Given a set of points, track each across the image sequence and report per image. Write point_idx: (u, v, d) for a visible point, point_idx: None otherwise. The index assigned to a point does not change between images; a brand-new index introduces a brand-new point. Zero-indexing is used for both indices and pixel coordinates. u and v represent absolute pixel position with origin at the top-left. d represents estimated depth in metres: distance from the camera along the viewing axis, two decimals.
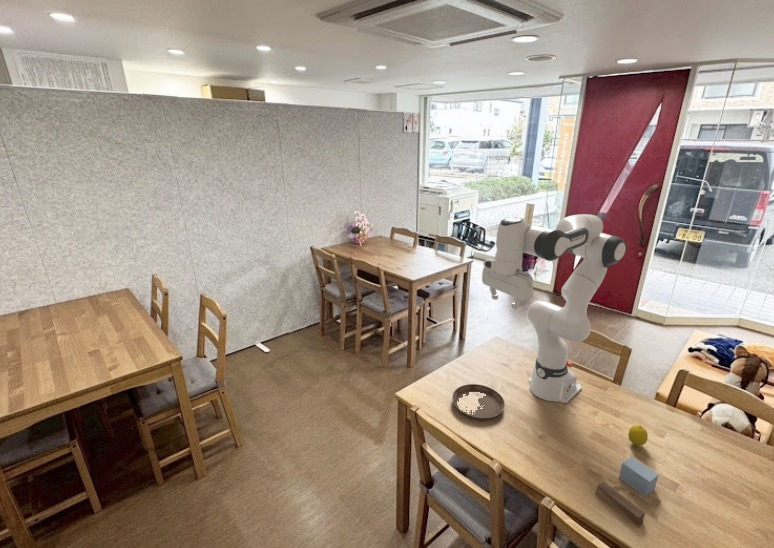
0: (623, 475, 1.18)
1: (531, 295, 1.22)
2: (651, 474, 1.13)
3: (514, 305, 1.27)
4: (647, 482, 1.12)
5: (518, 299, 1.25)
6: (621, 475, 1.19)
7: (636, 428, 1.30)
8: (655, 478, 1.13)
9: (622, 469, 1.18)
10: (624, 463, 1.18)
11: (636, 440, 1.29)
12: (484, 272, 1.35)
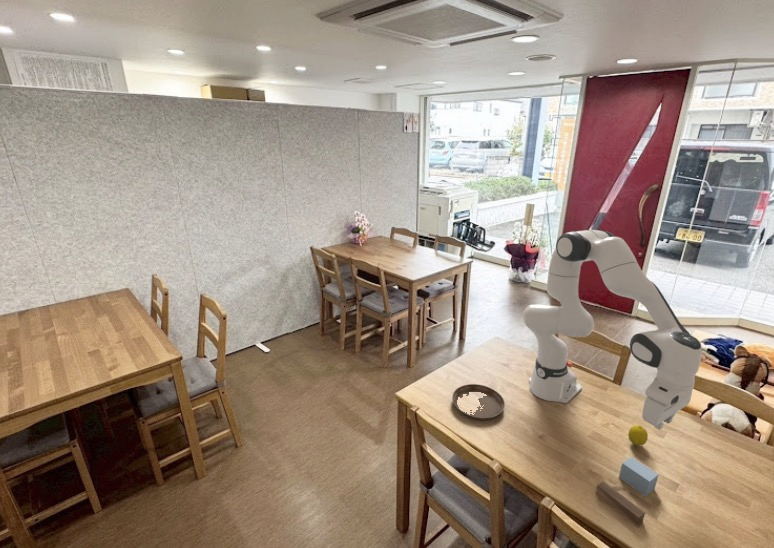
0: (623, 475, 1.18)
1: None
2: (651, 474, 1.13)
3: (671, 419, 1.15)
4: (647, 482, 1.12)
5: None
6: (621, 475, 1.19)
7: (636, 428, 1.30)
8: (655, 478, 1.13)
9: (622, 469, 1.18)
10: (624, 463, 1.18)
11: (636, 440, 1.29)
12: (662, 412, 1.06)
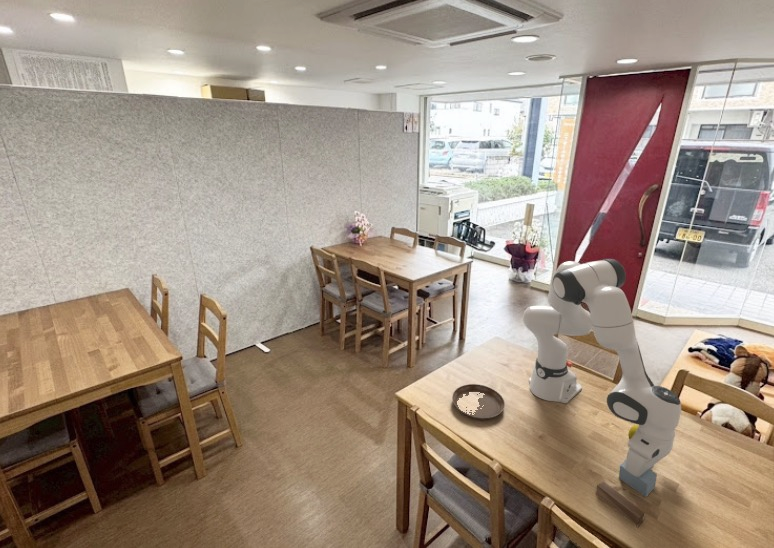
0: (622, 476, 1.18)
1: None
2: (649, 475, 1.12)
3: (651, 469, 1.18)
4: (645, 484, 1.11)
5: None
6: (621, 476, 1.18)
7: (636, 428, 1.30)
8: (653, 478, 1.12)
9: (621, 470, 1.18)
10: (622, 465, 1.17)
11: None
12: None
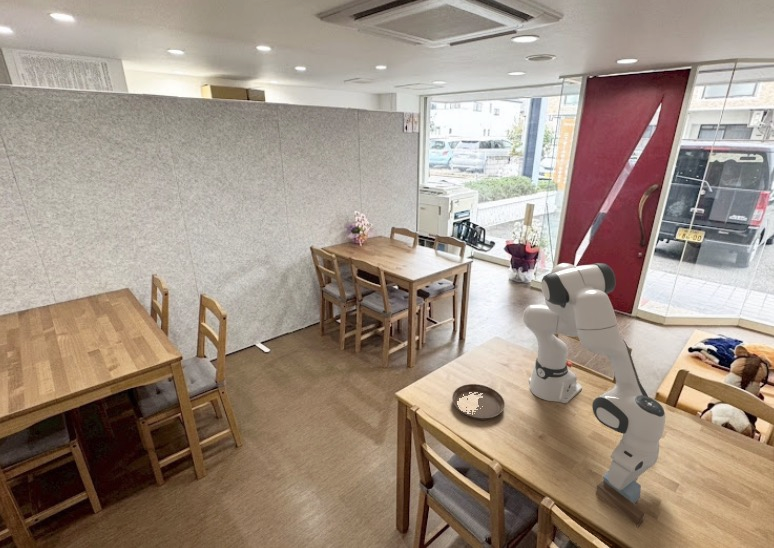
0: None
1: None
2: (633, 487, 1.09)
3: None
4: (628, 496, 1.07)
5: None
6: None
7: None
8: (637, 490, 1.08)
9: (604, 481, 1.14)
10: (605, 476, 1.13)
11: None
12: None
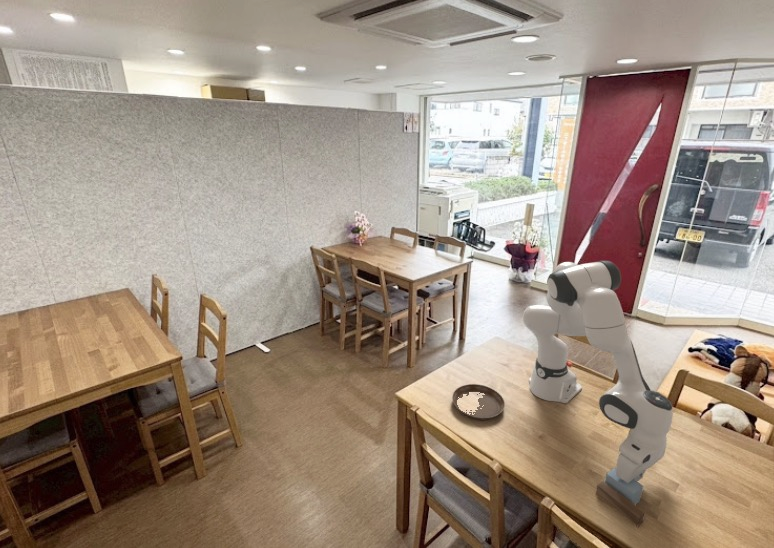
0: None
1: None
2: (636, 486, 1.10)
3: (642, 475, 1.16)
4: (631, 494, 1.08)
5: None
6: None
7: None
8: (640, 490, 1.09)
9: (606, 480, 1.14)
10: (608, 474, 1.14)
11: None
12: (634, 470, 1.08)
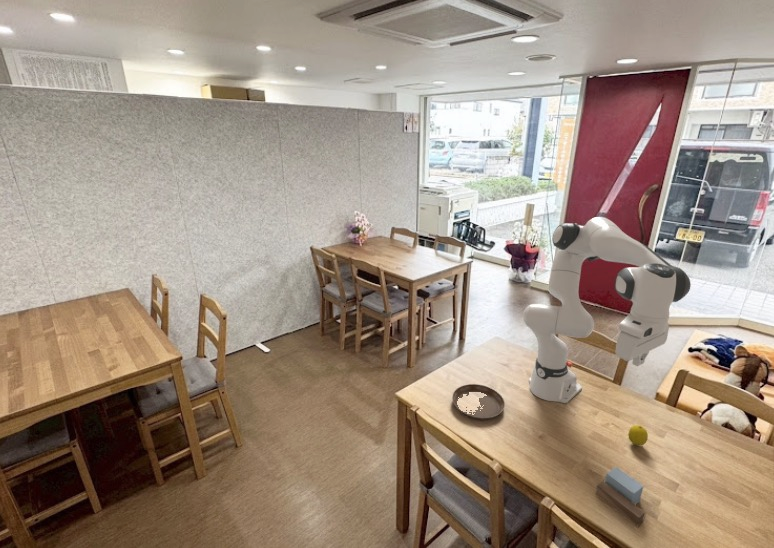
0: None
1: None
2: (636, 486, 1.10)
3: (644, 360, 1.10)
4: (631, 494, 1.08)
5: None
6: None
7: (636, 428, 1.30)
8: (640, 490, 1.09)
9: (606, 480, 1.14)
10: (608, 474, 1.14)
11: (636, 440, 1.29)
12: (635, 346, 1.02)
